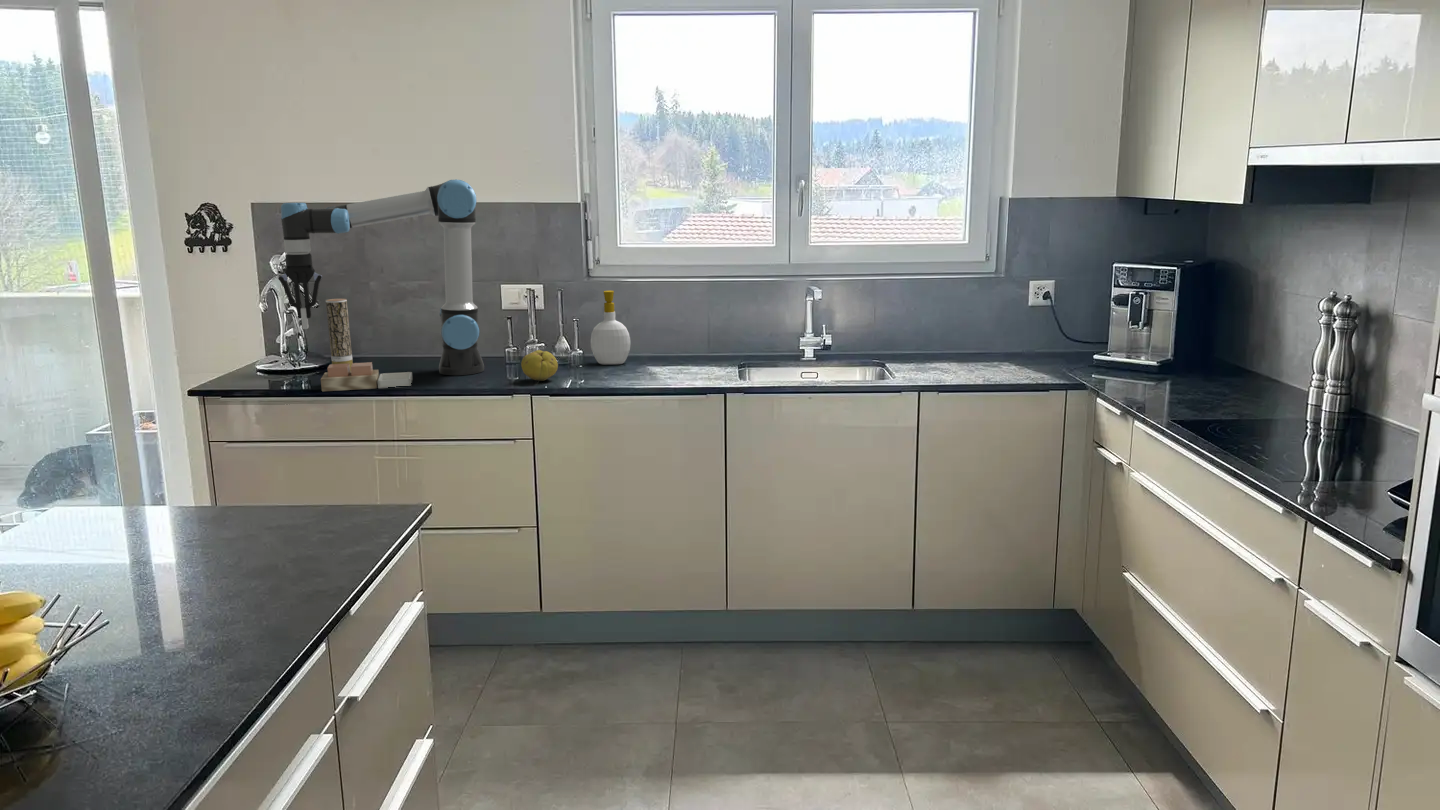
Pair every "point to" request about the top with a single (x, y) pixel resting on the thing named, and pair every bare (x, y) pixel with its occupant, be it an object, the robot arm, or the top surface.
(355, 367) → the tile
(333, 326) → the bark textured cylinder
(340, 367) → the tile
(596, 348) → the soap bottle
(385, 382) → the tray
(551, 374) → the fruit
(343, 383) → the board
